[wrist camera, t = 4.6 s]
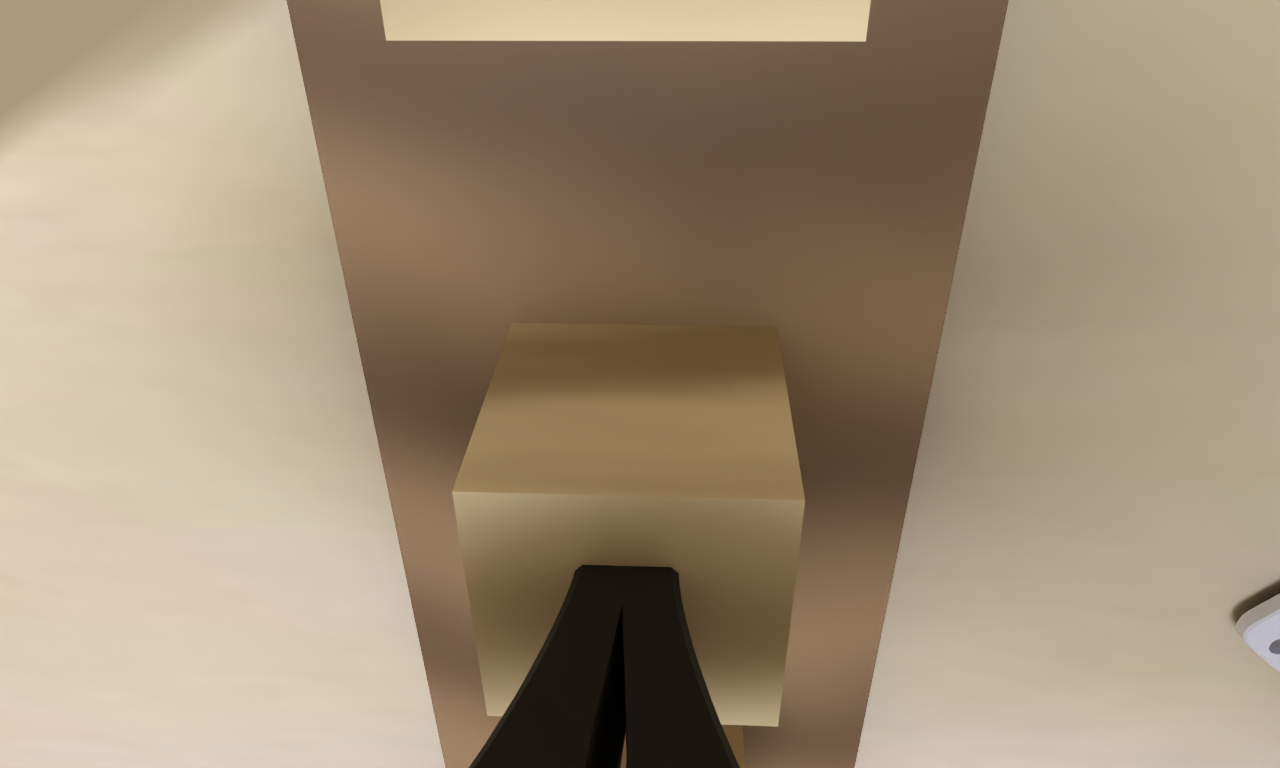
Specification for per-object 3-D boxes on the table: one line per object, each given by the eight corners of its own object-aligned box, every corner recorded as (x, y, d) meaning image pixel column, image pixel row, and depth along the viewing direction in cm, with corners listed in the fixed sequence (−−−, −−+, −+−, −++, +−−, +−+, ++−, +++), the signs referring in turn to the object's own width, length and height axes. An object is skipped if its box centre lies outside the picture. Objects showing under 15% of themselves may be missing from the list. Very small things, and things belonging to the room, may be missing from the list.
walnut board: (188, -662, 10) (140, -707, 9) (1115, -695, 9) (1156, -743, 9) (469, 812, 25) (462, 848, 24) (829, 828, 25) (834, 864, 24)
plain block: (511, 321, 15) (452, 491, 11) (776, 326, 15) (804, 499, 11) (530, 522, 18) (487, 715, 14) (759, 528, 17) (778, 726, 14)
